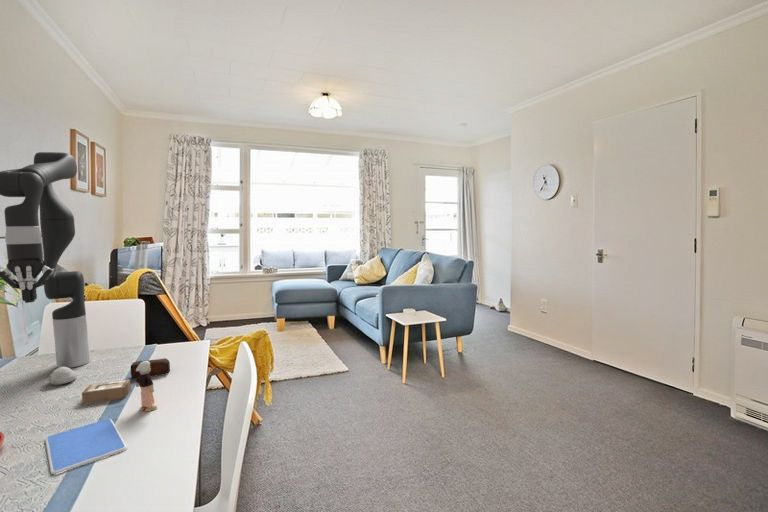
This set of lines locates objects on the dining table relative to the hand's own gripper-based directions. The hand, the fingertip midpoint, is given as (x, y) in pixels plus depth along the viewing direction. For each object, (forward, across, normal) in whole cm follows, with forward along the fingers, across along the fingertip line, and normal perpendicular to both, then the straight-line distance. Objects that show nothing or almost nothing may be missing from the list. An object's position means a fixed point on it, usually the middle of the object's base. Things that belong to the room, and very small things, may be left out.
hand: (29, 302), depth 113 cm
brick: (+27, -29, -3) cm, 40 cm away
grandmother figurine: (+27, -33, +25) cm, 50 cm away
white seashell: (+27, -4, -7) cm, 29 cm away
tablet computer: (+28, -24, +40) cm, 54 cm away
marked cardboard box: (+26, -16, +12) cm, 32 cm away
